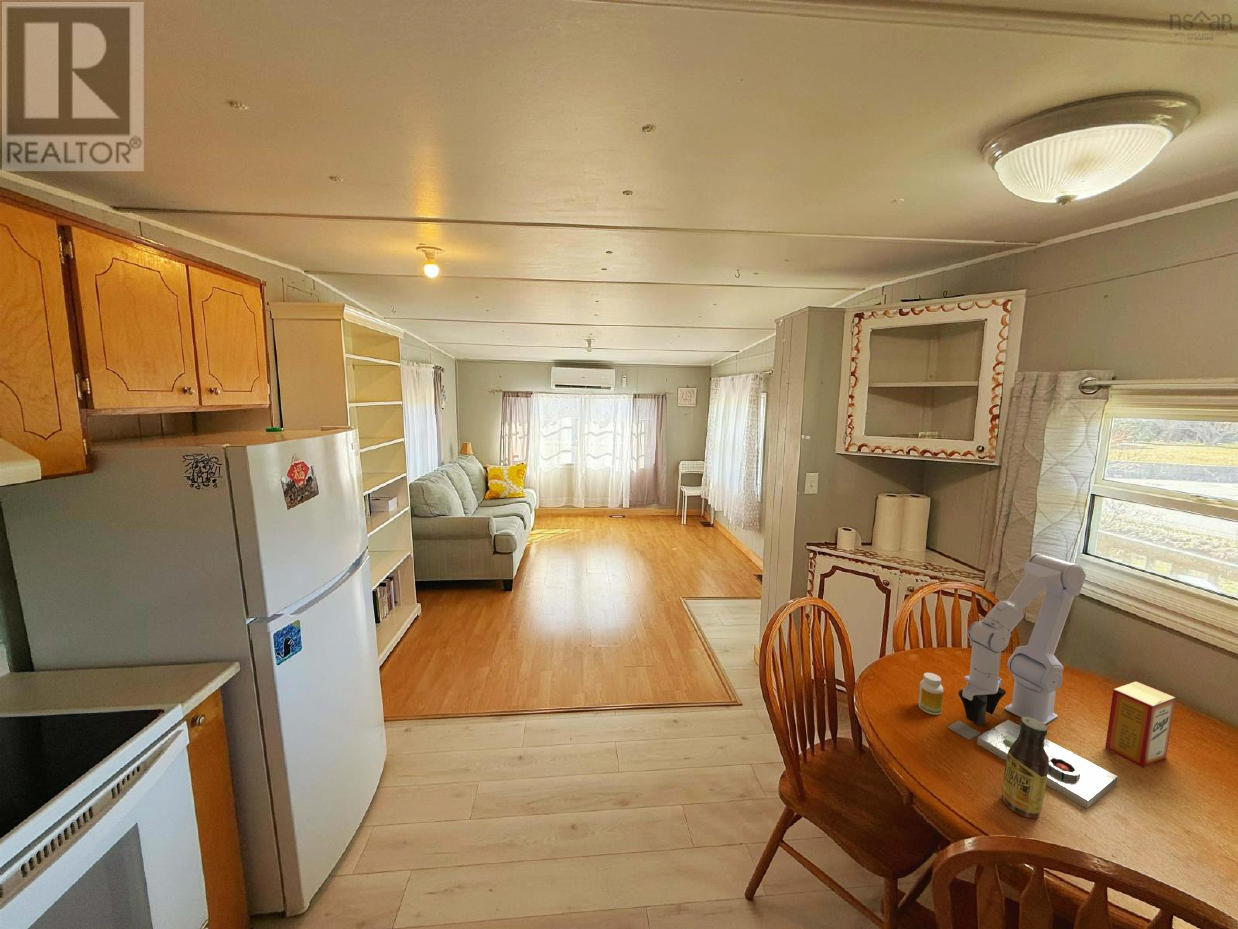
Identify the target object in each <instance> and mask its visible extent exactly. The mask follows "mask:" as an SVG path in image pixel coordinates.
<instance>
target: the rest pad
mask: <svg viewBox="0 0 1238 929" xmlns="http://www.w3.org/2000/svg"><path fill="white" fill-rule="evenodd" d="M947 729H949V730H951V731H952V732H954V733H955V734H957V735H959V736H961V737H963V738H964V739H966V740H967V741H971V740H973V739H975V738H978V736H980V735H982V734H981V732H979V731H978V730H976V729H974V728H973V727H971V726H969V725H967V724H966V723H964V722H962V721H961V720H957V721H956V722H955V721H954V722H953V723H952V724H950V725H947Z"/></svg>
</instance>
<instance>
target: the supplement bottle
mask: <svg viewBox="0 0 1238 929" xmlns="http://www.w3.org/2000/svg"><path fill="white" fill-rule="evenodd" d="M922 678H923V679H922V680H920V681H919V690H918V702H917V703H918V707H919V709H920V710H922V712H925V713H926V714H930V715H933V716H938V715H941V714H942V712H943V701H944V700H943V699H944V687H943V685H942V678H941V677H940V676H939V675H937V674H935V673H933V672H925V673H923V677H922Z"/></svg>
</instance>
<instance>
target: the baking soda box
mask: <svg viewBox="0 0 1238 929" xmlns="http://www.w3.org/2000/svg"><path fill="white" fill-rule="evenodd" d="M1176 698H1177V697H1176V696H1173V695H1172V694H1169V693H1165V692H1164V691H1161V690H1159V689H1156V688H1154V687H1151V686H1149V685H1146V684H1144V683H1142V682H1140V681H1132V682H1130V683H1126V684H1125V685H1121V686H1119V687H1117V688H1116V687H1115V688H1113V690H1112V697H1111V706H1110V709H1109V710H1110V711H1109V720H1108V726H1107V734H1106V740H1105V749H1107V750H1108V751H1110V752H1111V753H1114V754H1116V755H1118V756H1119V757H1122V758H1123V759H1125V760H1126V761H1128V762H1130V763H1133V764H1134V765H1136V766H1138V767H1141V769H1144V768H1147V767H1149V766H1151V765H1153V764H1155V763H1158V762H1160V761H1162V760H1164V759H1167V756H1168V748H1169V742H1170V737H1171V729H1172V725H1173V724H1172V723H1173V717H1174V711H1175V710H1174V709H1175V705H1176Z"/></svg>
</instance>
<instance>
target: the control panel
mask: <svg viewBox="0 0 1238 929" xmlns="http://www.w3.org/2000/svg"><path fill="white" fill-rule="evenodd" d="M1020 728H1021V726H1020V724H1018V723H1015V722H1014V721H1011V720H1010V719H1007V720H1005V721H1003V722H1002V723H1000V724H998V725H996V726H994V727H993V728H991V729H990V730H987V731H986V732H984V733H982V734H980V735H978V736H977V740H976V741H977V742H976V744H977V745H978V746H980V747H982V748H983V749H985V750H987V751H988V752H990V753H992V754H993V755H995V756H996V757H998V758H1001V759H1002V760H1003V761H1005V762H1006V761H1007V755H1008V750H1009V749H1010V748H1011V746H1009V745H1008V744H1006V743H1005V738H1006V737H1008V736H1010V735H1011V736H1013V737H1014V738H1016V739H1017V738H1018V737H1019V734H1020ZM1044 750H1045V752H1046V754H1047V756H1048V758H1049V766H1048V775H1047V781H1046V786H1048V787H1049V788H1051V789H1052V790H1054V791H1056V790H1057V791H1056V792H1058V793H1059V792H1060V793H1059V794H1061V795H1063V796H1065V797H1066V798H1068V799H1070V800H1072V802H1075V803H1076V804H1078V805H1080V806H1081V807H1083V808H1085V809H1089V808H1090V807H1091V806H1093V805H1094V804H1095V803H1096V802H1097V801H1099V800H1100V799H1101V798H1102V797H1103V796H1105V794H1107V793H1108V792H1109V791H1110V790H1112V789H1113V788H1114V787H1116V786H1117V782H1118V775H1116V774H1114V773H1112V772H1109V771H1108V770H1106V769H1105V768H1103V767H1100V766H1099V765H1096V764H1094V763H1093V762H1091V761H1089V760H1087V759H1085V758H1084V757H1083V758H1082V757H1081V756H1079V755H1077V754H1076V753H1073V752H1072V751H1070V750H1067V749H1065V748H1064V747H1061V746H1060V745H1058V744H1056V743H1054V742H1052V741H1051V740H1048V739H1046V738H1045V739H1044ZM1057 763H1060V764H1063V765H1065V766H1067V767H1068V769H1069V771H1068V772H1067V771H1063V770H1061V769H1059V768H1057V767H1056V764H1057Z"/></svg>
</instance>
